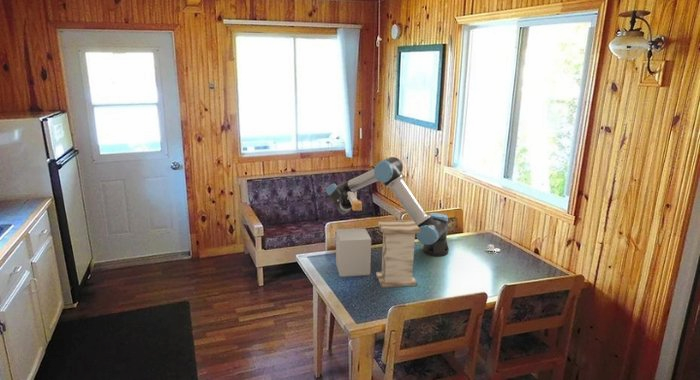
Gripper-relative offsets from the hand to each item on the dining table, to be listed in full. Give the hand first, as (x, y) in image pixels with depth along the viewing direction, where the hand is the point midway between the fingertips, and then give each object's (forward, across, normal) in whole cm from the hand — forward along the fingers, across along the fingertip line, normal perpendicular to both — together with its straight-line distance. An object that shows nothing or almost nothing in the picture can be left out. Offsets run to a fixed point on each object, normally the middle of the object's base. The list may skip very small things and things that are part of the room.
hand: (352, 193), depth 243 cm
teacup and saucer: (-19, -86, -34) cm, 94 cm away
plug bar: (+1, 0, -6) cm, 6 cm away
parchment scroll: (+4, -19, -47) cm, 51 cm away
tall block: (-9, +1, -40) cm, 41 cm away
